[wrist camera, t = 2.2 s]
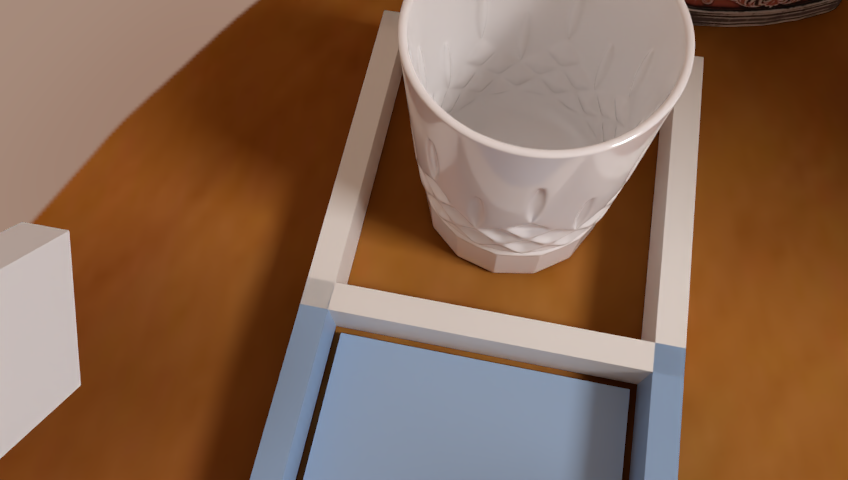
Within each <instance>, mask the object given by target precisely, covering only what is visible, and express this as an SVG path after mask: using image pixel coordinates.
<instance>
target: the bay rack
mask: <svg viewBox="0 0 848 480" xmlns="http://www.w3.org/2000/svg"><path fill="white" fill-rule="evenodd" d="M399 14H400V12H394V11H387V10H384V13H383V16H382V20H381V23H380V27H379V30H378V34H377V37H376V41H375V44H374V48H373V51H372V55H371V58H370V61H369V65H368V68H367V72H366V75H365V79H364V82H363V86H362V89H361V93H360V96H359V100H358V103H357V107H356V110H355V114H354V117H353V121H352V124H351V128H350V131H349V135H348V138H347V142H346V145H345V149H344V152H343V156H342V159H341V163H340V166H339V170H338V173H337V177H336V180H335V184H334V187H333V191H332V194H331V198H330V201H329V205H328V208H327V212H326V215H325V219H324V222H323V226H322V229H321V232H320V236H319V239H318V243H317V246H316V250H315V253H314V257H313V260H312V264H311V267H310V271H309V274H308V278H307V281H306V285H305V288H304V292H303V295H302V299H301V302H300V306H299V309H298V313H297V316H296V320H295V323H294V327H293V330H292V334H291V337H290V341H289V344H288V348H287V351H286V355H285V358H284V362H283V365H282V369H281V372H280V376H279V379H278V383H277V386H276V390H275V393H274V397H273V400H272V403H271V407H270V410H269V414H268V417H267V421H266V424H265V428H264V431H263V435H262V438H261V442H260V445H259V449H258V452H257V456H256V459H255V463H254V466H253V470H252V473H251V477H250V480H296V477H297V473H298V469H299V465H300V462H301V458H302V454H303V450H304V446H305V443H306V439H307V435H308V431H309V427H310V423H311V420H312V416H313V412H314V408H315V404H316V401H317V397H318V393H319V389H320V385H321V382H322V378H323V374H324V370H325V366H326V362H327V359H328V355H329V351H330V347H331V343H332V340H333V336H334V332H335V328H336V326H340V327H345V328H350V329H355V330H360V331H365V332H371V333H376V334H381V335H386V336H391V337H396V338H401V339H407V340H412V341H417V342H422V343H427V344H432V345H437V346H442V347H448V348H453V349H458V350H463V351H468V352H473V353H478V354H484V355H489V356H494V357H499V358H504V359H509V360H514V361H519V362H525V363H530V364H535V365H540V366H545V367H550V368H555V369H561V370H566V371H571V372H576V373H581V374H586V375H591V376H596V377H602V378H607V379H612V380H617V381H622V382H627V383H632V384H637V393H636V405H635V416H634V428H633V439H632V450H631V462H630V473H629V480H678V466H679V449H680V433H681V417H682V401H683V385H684V369H685V353H686V337H687V321H688V304H689V288H690V272H691V256H692V240H693V224H694V208H695V192H696V176H697V159H698V143H699V127H700V111H701V95H702V79H703V63H704V57H699V56H694V62H693V67H692V71H691V74H690V77H689V80H688V82H687V85H686V87H685V89H684V91H683V93H682V94H681V96H680V98H679V99H678V101H677V102H676V104H675V106H674V107H673V109H672V110H671V112H670V113H669V115H668V117H667V118H666V120H665V121H664V123H663V125H662V126H661V128H660V131H659V142H658V154H657V165H656V177H655V188H654V199H653V211H652V222H651V234H650V245H649V256H648V268H647V279H646V291H645V302H644V313H643V325H642V336H641V340H639V339H633V338H628V337H623V336H617V335H612V334H607V333H602V332H596V331H591V330H586V329H580V328H575V327H570V326H564V325H559V324H554V323H549V322H543V321H538V320H533V319H527V318H522V317H517V316H511V315H506V314H501V313H495V312H490V311H485V310H480V309H474V308H469V307H464V306H458V305H453V304H448V303H442V302H437V301H432V300H426V299H421V298H416V297H411V296H405V295H400V294H395V293H389V292H384V291H379V290H373V289H368V288H363V287H358V286H352V285H347V282H348V279H349V275H350V271H351V267H352V263H353V260H354V256H355V252H356V248H357V244H358V241H359V237H360V233H361V229H362V225H363V221H364V218H365V214H366V210H367V206H368V202H369V199H370V195H371V191H372V187H373V183H374V180H375V176H376V172H377V168H378V164H379V160H380V157H381V153H382V149H383V145H384V141H385V138H386V134H387V130H388V126H389V122H390V119H391V115H392V111H393V107H394V103H395V99H396V96H397V92H398V88H399V84H400V80H401V77H402V73H403V72H402V66H401V60H400V54H399V48H398V36H397V31H398V20H399ZM629 395H630V389H625V388H620V387H615V386H610V385H605V384H600V383H595V382H589V381H584V380H579V379H574V378H569V377H564V376H559V375H554V374H549V373H543V372H538V371H533V370H528V369H523V368H518V367H513V366H508V365H503V364H498V363H492V362H487V361H482V360H477V359H472V358H467V357H462V356H457V355H452V354H446V353H441V352H436V351H431V350H426V349H421V348H416V347H411V346H406V345H400V344H395V343H390V342H385V341H380V340H375V339H370V338H365V337H360V336H354V335H349V334H344V333H341V334H340V338H339V342H338V346H337V350H336V354H335V358H334V362H333V365H332V369H331V373H330V377H329V381H328V385H327V389H326V393H325V396H324V400H323V404H322V408H321V412H320V416H319V420H318V423H317V427H316V431H315V435H314V439H313V443H312V447H311V451H310V454H309V458H308V462H307V466H306V470H305V474H304V478H303V480H622V472H623V461H624V450H625V439H626V428H627V417H628V406H629Z"/></svg>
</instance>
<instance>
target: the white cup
mask: <svg viewBox="0 0 848 480" xmlns="http://www.w3.org/2000/svg"><path fill="white" fill-rule="evenodd" d="M397 36H398V48H399V54H400V60H401V66H402V72H403V78H404V85H405V91H406V97H407V104H408V111H409V117H410V124H411V130H412V137H413V143H414V149H415V154H416V160H417V163H418V167H419V173H420V178H421V182H422V184H423V186H424V188H425V192H426V197H427V201H428V206H429V210H430V215H431V219H432V223H433V227H434V229H435V230H436V231H437V232H438V233H439V234H440V236H441V237H442V238H443V239H444V240H445V242H446V243H447V244H448V245H449V246H450V248H451V249H452V250H453V251H454V252H455V254H456V255H457V256H459V257H461V258H463V259H465V260H467V261H469V262H471V263H474V264H476V265H478V266H480V267H482V268H484V269H486V270H489V271H491V272H493V273H536V272H538V271H540V270H543V269H545V268H547V267H549V266H552V265H554V264H556V263H559V262H561V261H563V260H565V259H568V258H569V257H570V256H571V255H572V254H573V253H574V251H575V250H576V249H577V248H578V247H579V245H580V244H581V243H582V242H583V240H584V239H585V238H586V237H587V236H588V234H589V233H590V232H591V231H592V229H593V228H594V226H595V225H596V223H597V222H598V221H599V220H600V219H601V218H602V217H603V216H604V214H605V213H606V212H607V210H608V209H609V207H610V206H611V204H612V202H613V201H614V200H615V198H616V197H617V195H618V194H619V192H620V191H621V189H622V188H623V186H624V185H625V183H626V182H627V181H628V179H629V178H630V176H631V175H632V173H633V172H634V170H635V169H636V167H637V165H638V164H639V162H640V160H641V159H642V157H643V156H644V154H645V152H646V151H647V149H648V147H649V146H650V144H651V143H652V141H653V139H654V138H655V136H656V134H657V133H658V131H659V129H660V128H661V126H662V125H663V123H664V121H665V120H666V118H667V117H668V115H669V113H670V112H671V110H672V109H673V107H674V106H675V104H676V102H677V101H678V99H679V98H680V96H681V94H682V93H683V91H684V89H685V87H686V85H687V82H688V80H689V77H690V74H691V71H692V67H693V62H694V55H695V34H694V27H693V23H692V19H691V15H690V12H689V10H688V7H687V5H686V2H685V0H403V3H402V6H401V10H400V14H399V20H398V31H397Z"/></svg>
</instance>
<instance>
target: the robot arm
mask: <svg viewBox="0 0 848 480" xmlns="http://www.w3.org/2000/svg"><path fill="white" fill-rule="evenodd" d="M80 386H81V381H80V368H79V354H78V341H77V328H76V314H75V301H74V288H73V274H72V261H71V247H70V234H69V230H64V229H58V228H53V227H47V226H42V225H37V224H31V223H26V222H20V223H19V224H16V225H14V226H12V227H10V228H8V229H6V230H4V231H3V232H0V458H2V457H3V456H4V455H5V454H6V453H7V452H8V451H9V450H10V449H11V448H13V447H14V446H15V445H16V444H17V443H18V442H19V441H20V440H21V439H22V438H24V437H25V436H26V435H27V434H28V433H29V432H30V431H31V430H32V429H33V428H34V427H36V426H37V425H38V424H39V423H40V422H41V421H42V420H43V419H44V418H45V417H47V416H48V415H49V414H50V413H51V412H52V411H53V410H54V409H55V408H56V407H58V406H59V405H60V404H61V403H62V402H63V401H64V400H65V399H66V398H67V397H69V396H70V395H71V394H72V393H73V392H74V391H75V390H76V389H77V388H78V387H80Z"/></svg>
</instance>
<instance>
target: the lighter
mask: <svg viewBox="0 0 848 480" xmlns="http://www.w3.org/2000/svg"><path fill="white" fill-rule="evenodd" d="M841 1H842V0H685V2H686V5H687V7H688V10H689V12H690V15H691V19H692V23H693V25H699V26H716V27H739V26H763V25H769V24H776V23H782V22H789V21H795V20H800V19H803V18H807V17H811V16H815V15H819V14H822V13H826V12H829V11H831V10H833V9H835V8H836V7H837V6H838V5H839V3H840V2H841Z"/></svg>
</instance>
